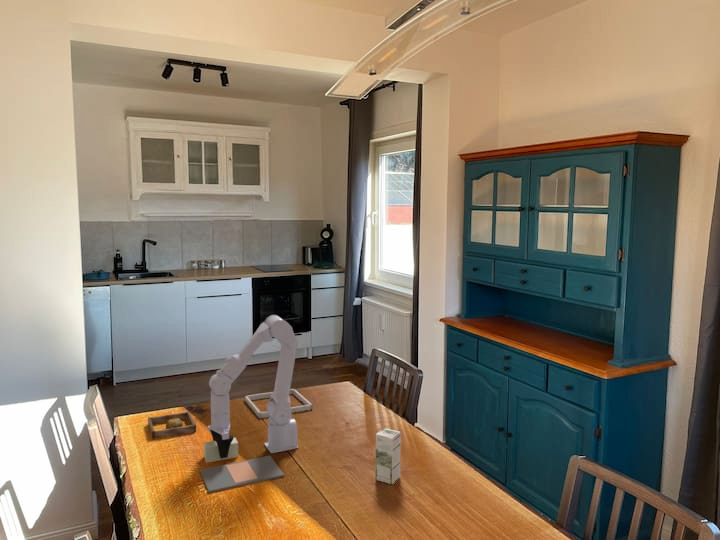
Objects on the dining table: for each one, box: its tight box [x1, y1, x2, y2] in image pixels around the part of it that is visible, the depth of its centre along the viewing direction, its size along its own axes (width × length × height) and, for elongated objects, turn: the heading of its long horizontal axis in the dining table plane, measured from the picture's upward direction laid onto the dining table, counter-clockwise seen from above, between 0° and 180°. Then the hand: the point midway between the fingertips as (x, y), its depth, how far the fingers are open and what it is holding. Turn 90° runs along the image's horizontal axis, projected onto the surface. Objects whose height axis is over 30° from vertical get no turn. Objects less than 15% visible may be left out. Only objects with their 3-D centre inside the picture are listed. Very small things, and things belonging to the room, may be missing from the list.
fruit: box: [165, 418, 184, 429], centre depth 196 cm, size 8×8×4 cm
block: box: [203, 437, 239, 464], centre depth 174 cm, size 10×4×5 cm, turn 114°
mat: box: [199, 455, 285, 494], centre depth 164 cm, size 22×14×1 cm, turn 117°
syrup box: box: [374, 427, 402, 485], centre depth 160 cm, size 6×6×14 cm
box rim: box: [244, 388, 314, 419], centre depth 221 cm, size 22×22×2 cm
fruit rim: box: [147, 411, 197, 440], centre depth 197 cm, size 15×15×2 cm
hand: (221, 452), depth 175 cm, fingers open, 7 cm apart
